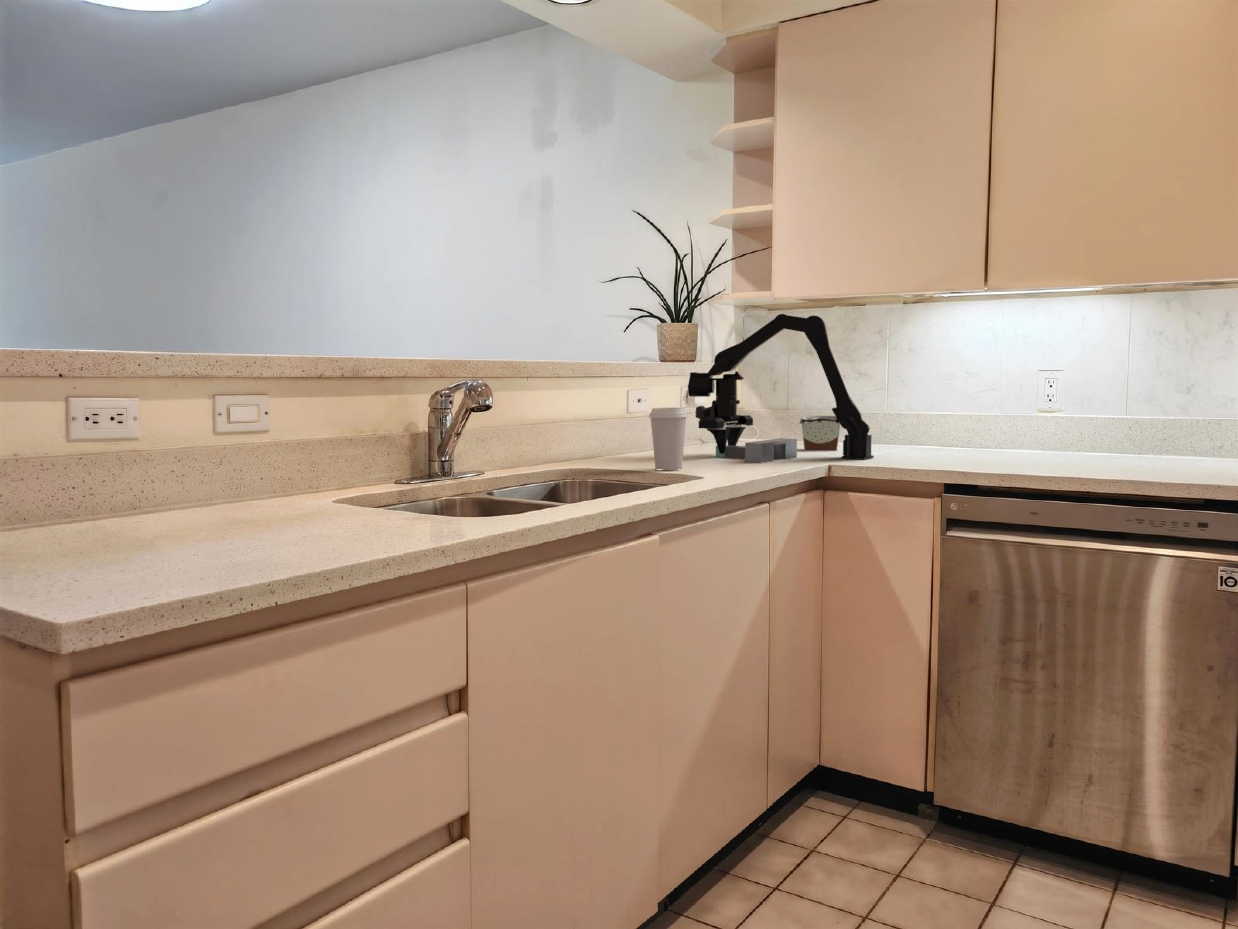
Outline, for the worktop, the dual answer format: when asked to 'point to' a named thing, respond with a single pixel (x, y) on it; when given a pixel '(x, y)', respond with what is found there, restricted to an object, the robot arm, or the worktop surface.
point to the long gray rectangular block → (770, 450)
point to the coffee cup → (668, 437)
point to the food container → (820, 433)
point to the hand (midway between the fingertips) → (726, 452)
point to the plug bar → (732, 452)
